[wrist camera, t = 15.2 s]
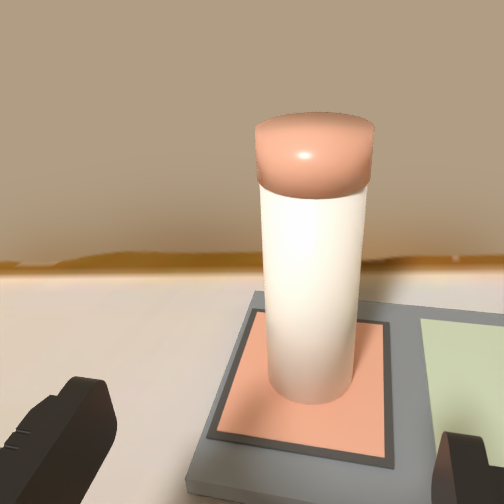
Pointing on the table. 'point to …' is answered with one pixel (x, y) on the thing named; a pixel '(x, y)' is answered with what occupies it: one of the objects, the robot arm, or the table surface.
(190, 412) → the table surface
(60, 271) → the table surface
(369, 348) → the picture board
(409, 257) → the table surface
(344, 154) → the marker
